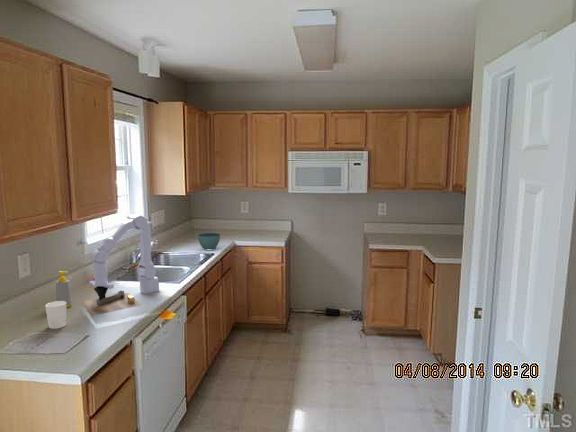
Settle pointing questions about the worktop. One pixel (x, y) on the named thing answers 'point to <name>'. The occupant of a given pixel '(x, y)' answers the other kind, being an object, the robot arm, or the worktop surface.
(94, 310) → the latch board
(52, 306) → the white cup
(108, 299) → the swing bar
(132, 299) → the light wood small block
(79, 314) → the worktop surface
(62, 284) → the soap bottle
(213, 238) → the plant pot
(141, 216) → the robot arm
